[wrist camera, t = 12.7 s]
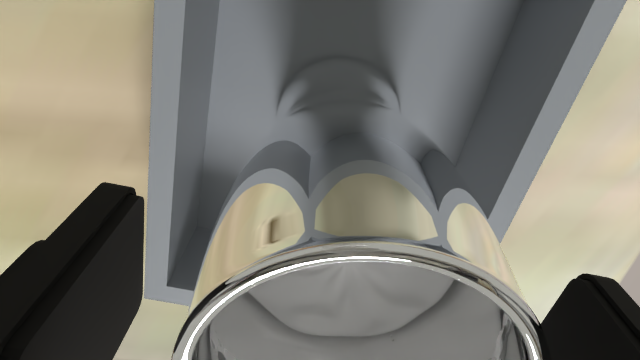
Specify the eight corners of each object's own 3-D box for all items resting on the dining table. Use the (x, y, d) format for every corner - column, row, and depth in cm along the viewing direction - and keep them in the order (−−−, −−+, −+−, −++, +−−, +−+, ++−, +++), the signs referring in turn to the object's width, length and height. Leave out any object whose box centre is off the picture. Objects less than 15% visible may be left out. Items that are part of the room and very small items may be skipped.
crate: (213, -133, 17) (160, -181, 11) (555, -42, 18) (650, -46, 13) (183, 227, 25) (144, 298, 19) (420, 272, 26) (444, 350, 21)
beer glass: (260, 169, 22) (155, 483, 8) (278, 33, 19) (156, 193, 5) (388, 191, 22) (478, 521, 9) (426, 62, 19) (653, 276, 6)
